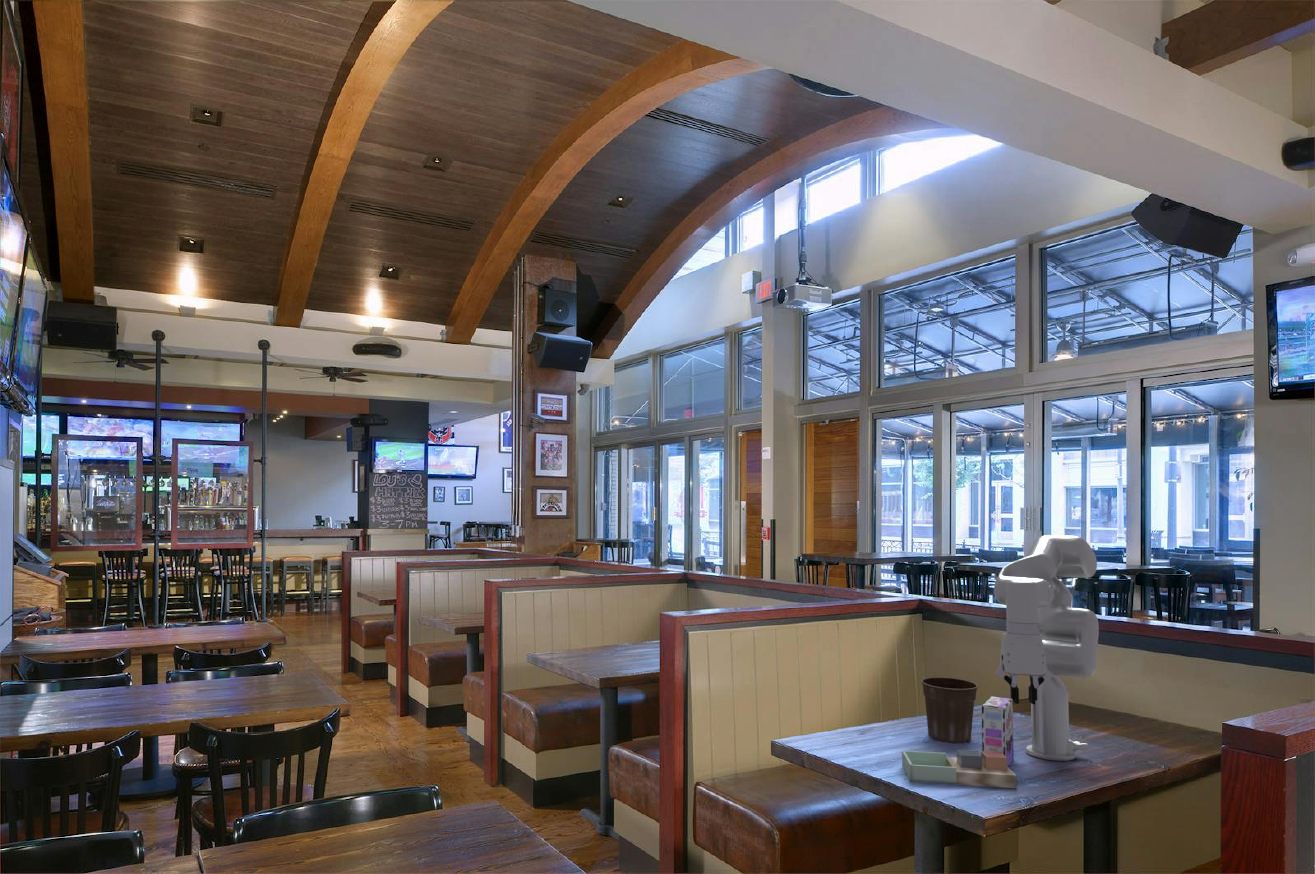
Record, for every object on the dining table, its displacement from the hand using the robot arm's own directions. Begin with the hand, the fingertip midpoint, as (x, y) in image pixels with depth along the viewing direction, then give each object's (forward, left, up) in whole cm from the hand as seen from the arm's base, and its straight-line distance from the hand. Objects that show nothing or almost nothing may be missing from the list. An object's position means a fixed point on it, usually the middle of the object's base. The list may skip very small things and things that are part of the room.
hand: (1023, 702), depth 212 cm
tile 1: (+13, 0, -16) cm, 21 cm away
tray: (+23, 0, -19) cm, 30 cm away
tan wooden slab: (+11, 0, -19) cm, 22 cm away
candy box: (+3, -14, -20) cm, 24 cm away
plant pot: (+10, -38, -20) cm, 44 cm away
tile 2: (+7, 0, -16) cm, 18 cm away
